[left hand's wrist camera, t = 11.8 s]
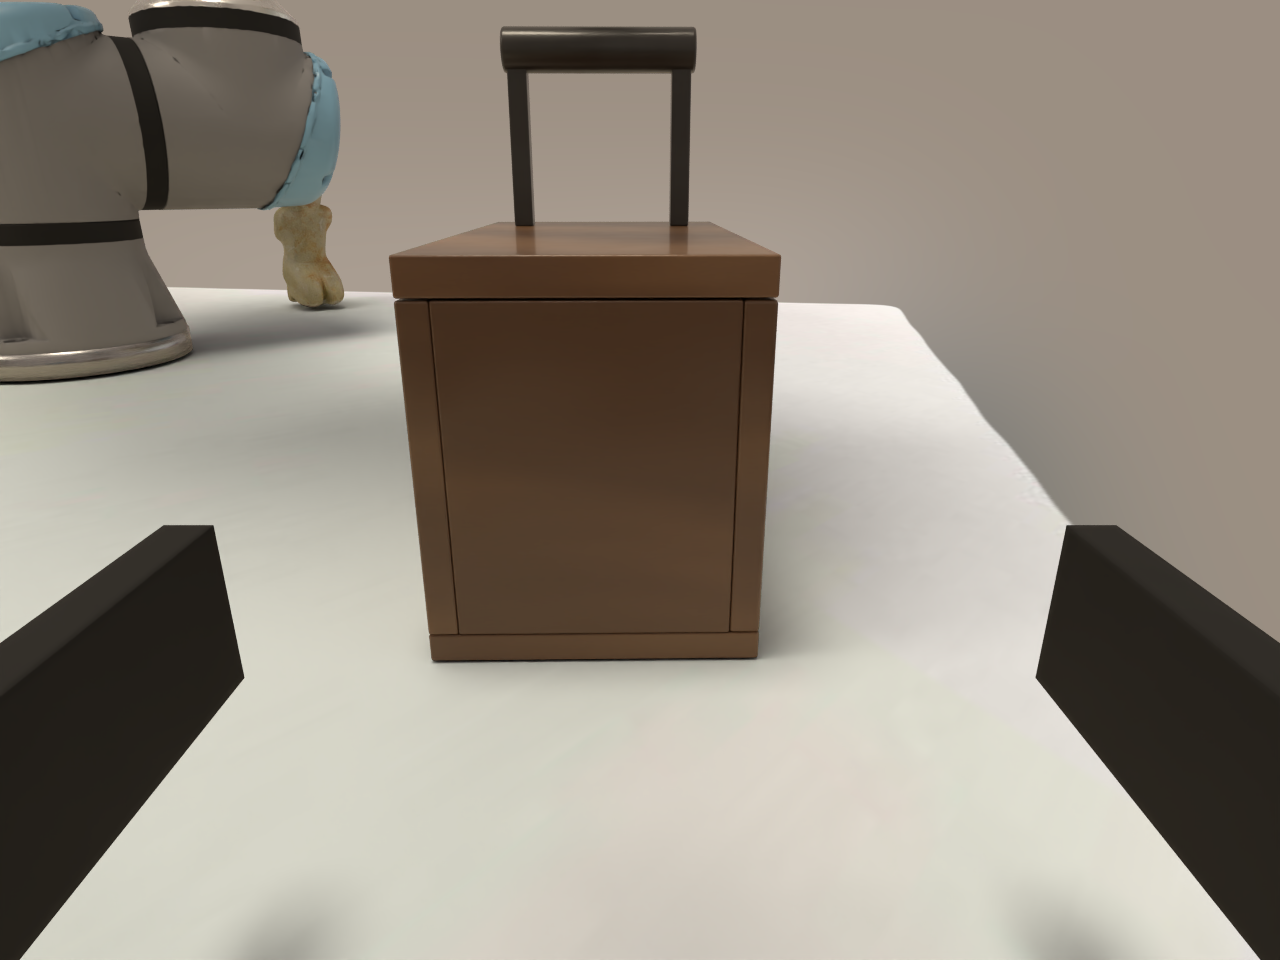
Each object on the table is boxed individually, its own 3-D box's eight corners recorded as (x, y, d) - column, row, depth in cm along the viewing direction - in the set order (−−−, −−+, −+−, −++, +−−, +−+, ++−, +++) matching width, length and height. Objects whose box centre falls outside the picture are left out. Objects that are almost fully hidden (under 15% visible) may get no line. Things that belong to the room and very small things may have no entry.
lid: (498, 246, 35) (486, 41, 32) (709, 245, 35) (715, 42, 32) (392, 298, 19) (350, -96, 16) (779, 297, 19) (801, -94, 16)
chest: (509, 470, 37) (495, 248, 34) (705, 469, 37) (712, 248, 34) (431, 661, 22) (393, 301, 19) (757, 658, 22) (778, 299, 19)
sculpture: (298, 311, 82) (275, 152, 76) (276, 303, 87) (252, 154, 82) (354, 305, 85) (336, 154, 80) (329, 298, 90) (310, 155, 85)
